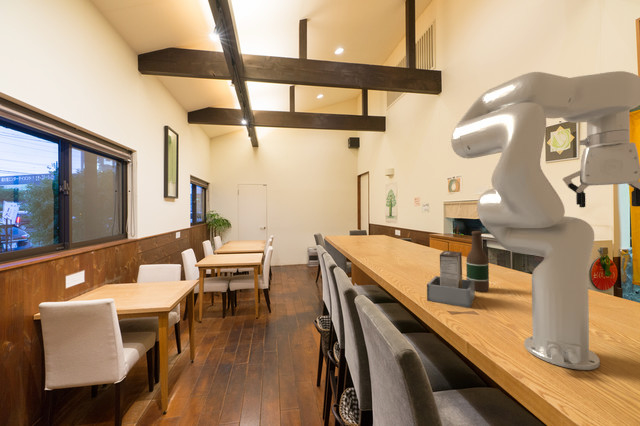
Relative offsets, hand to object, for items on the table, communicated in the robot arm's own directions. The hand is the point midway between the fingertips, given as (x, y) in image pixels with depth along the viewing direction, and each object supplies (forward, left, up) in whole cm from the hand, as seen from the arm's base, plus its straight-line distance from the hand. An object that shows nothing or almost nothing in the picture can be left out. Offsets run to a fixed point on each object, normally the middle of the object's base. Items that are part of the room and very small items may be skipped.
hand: (608, 206), depth 68 cm
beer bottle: (+24, +32, -34) cm, 52 cm away
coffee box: (+7, +39, -32) cm, 51 cm away
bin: (+7, +39, -33) cm, 52 cm away
